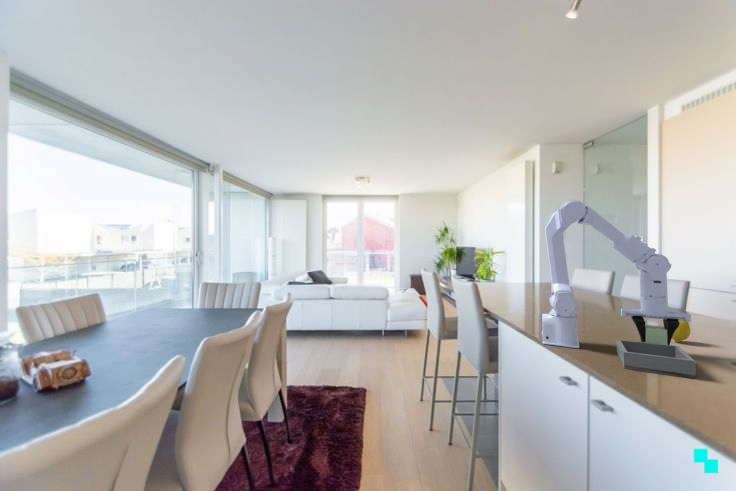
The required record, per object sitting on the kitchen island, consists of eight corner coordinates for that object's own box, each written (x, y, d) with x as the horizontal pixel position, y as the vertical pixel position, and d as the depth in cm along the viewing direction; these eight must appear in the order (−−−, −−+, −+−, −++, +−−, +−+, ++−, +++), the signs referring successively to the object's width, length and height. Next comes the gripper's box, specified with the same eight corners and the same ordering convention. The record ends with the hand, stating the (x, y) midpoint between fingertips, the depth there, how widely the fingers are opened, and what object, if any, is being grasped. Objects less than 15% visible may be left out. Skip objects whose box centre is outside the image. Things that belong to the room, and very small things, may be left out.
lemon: (695, 345, 94) (694, 318, 94) (673, 344, 95) (673, 318, 95) (681, 340, 100) (680, 314, 100) (660, 339, 101) (660, 314, 101)
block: (646, 353, 88) (645, 328, 88) (643, 348, 92) (642, 324, 92) (667, 355, 86) (667, 329, 86) (663, 351, 90) (662, 326, 90)
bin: (624, 368, 78) (623, 352, 78) (616, 353, 88) (616, 339, 88) (695, 378, 71) (695, 361, 71) (678, 361, 82) (678, 345, 82)
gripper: (623, 296, 90) (624, 344, 89) (694, 299, 82) (695, 352, 82) (619, 293, 96) (620, 337, 95) (685, 296, 88) (686, 344, 88)
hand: (654, 344), depth 89 cm, fingers closed on block, 4 cm apart
